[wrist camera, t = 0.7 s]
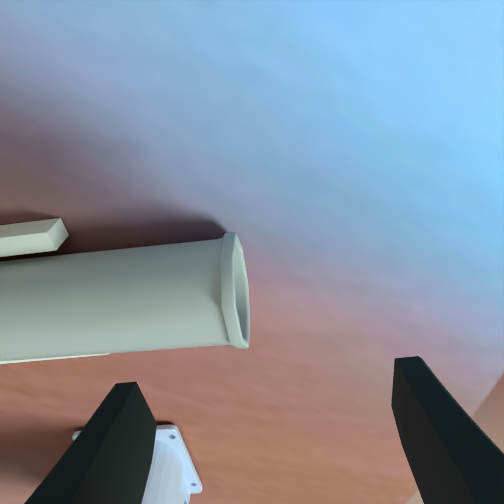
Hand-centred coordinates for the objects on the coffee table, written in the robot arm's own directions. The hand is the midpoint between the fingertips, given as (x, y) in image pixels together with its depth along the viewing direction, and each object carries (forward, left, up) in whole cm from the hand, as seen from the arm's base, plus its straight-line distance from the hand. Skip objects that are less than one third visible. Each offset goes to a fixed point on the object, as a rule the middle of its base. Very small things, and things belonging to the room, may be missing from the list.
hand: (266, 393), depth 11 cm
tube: (-2, +14, -10) cm, 17 cm away
